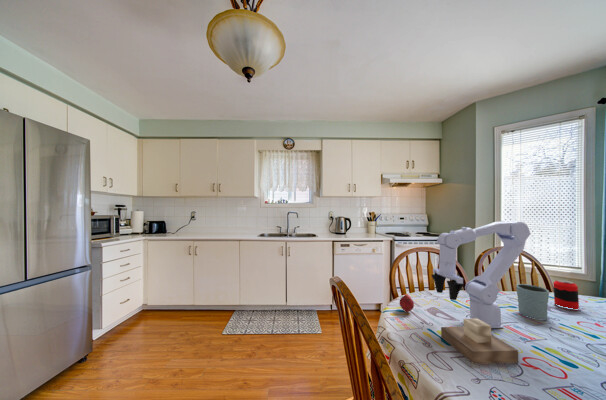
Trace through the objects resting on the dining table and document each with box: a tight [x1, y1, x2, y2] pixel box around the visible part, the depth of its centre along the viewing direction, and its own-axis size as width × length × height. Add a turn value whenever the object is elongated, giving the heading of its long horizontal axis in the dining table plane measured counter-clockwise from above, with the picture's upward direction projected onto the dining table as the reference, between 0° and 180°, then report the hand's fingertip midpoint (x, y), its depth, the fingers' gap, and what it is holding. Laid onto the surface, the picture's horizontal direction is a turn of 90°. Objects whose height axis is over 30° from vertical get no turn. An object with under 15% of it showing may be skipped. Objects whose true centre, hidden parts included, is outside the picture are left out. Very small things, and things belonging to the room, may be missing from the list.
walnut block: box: [440, 326, 520, 365], centre depth 73 cm, size 14×14×4 cm
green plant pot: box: [515, 283, 550, 320], centre depth 97 cm, size 10×10×12 cm
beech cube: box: [463, 318, 492, 343], centre depth 73 cm, size 5×5×5 cm
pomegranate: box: [399, 293, 415, 313], centre depth 99 cm, size 6×6×8 cm
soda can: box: [552, 279, 580, 309], centre depth 106 cm, size 8×8×12 cm
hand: (446, 295), depth 91 cm, fingers open, 7 cm apart
